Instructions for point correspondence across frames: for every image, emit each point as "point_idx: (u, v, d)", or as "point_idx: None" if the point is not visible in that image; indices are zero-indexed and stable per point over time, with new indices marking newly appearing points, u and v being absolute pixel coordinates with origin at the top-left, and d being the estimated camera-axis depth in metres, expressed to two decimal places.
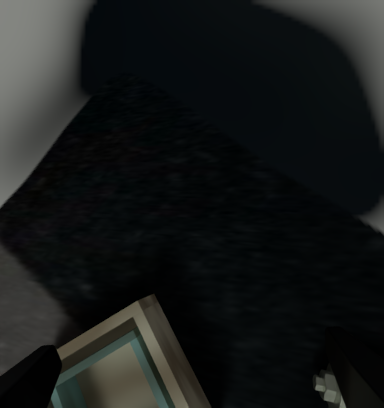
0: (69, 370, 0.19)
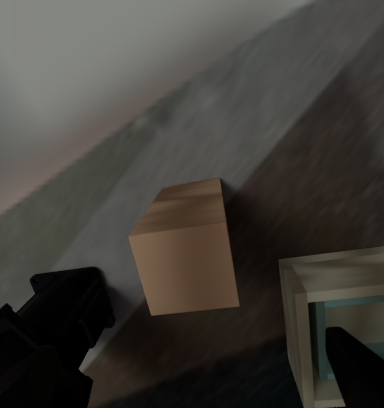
0: None
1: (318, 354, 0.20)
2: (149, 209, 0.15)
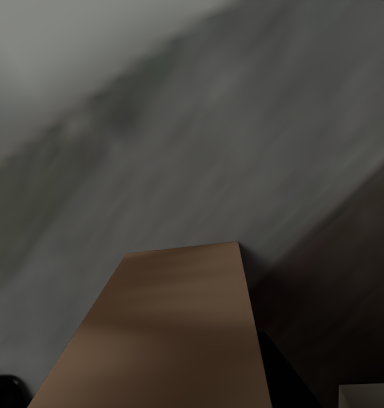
0: None
1: None
2: (49, 381, 0.05)
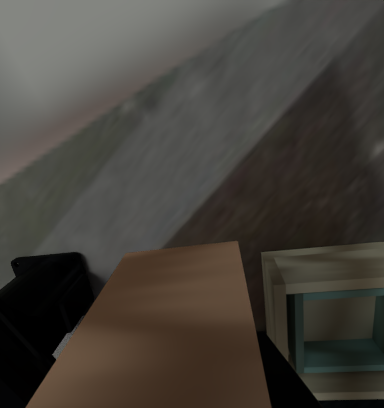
0: None
1: (295, 347, 0.20)
2: (48, 380, 0.05)
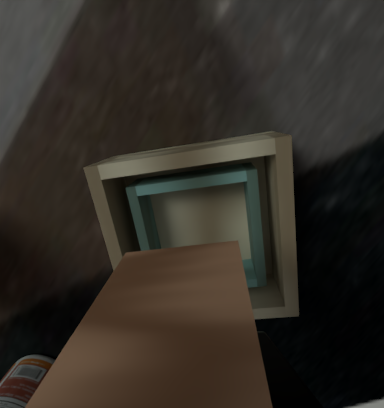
0: (257, 203, 0.15)
1: None
2: (48, 380, 0.05)
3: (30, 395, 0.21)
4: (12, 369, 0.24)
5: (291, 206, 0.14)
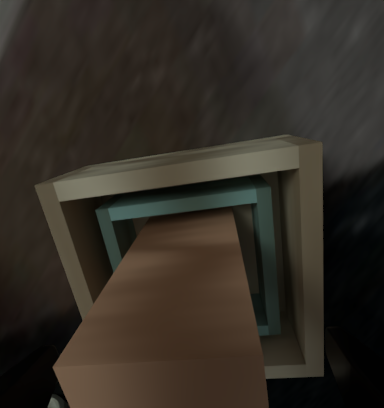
0: (271, 232, 0.11)
1: None
2: (118, 271, 0.09)
3: None
4: None
5: (319, 238, 0.10)
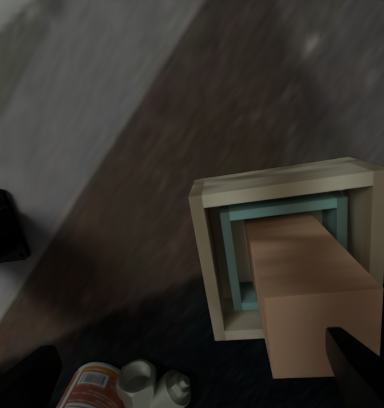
0: (345, 228, 0.16)
1: (229, 279, 0.18)
2: (255, 253, 0.14)
3: (99, 400, 0.23)
4: (77, 376, 0.25)
5: (383, 232, 0.15)
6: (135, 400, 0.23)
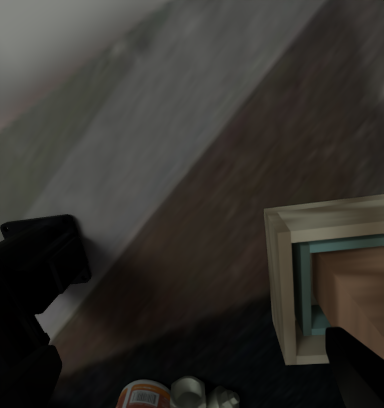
0: None
1: (302, 307, 0.19)
2: (348, 289, 0.15)
3: None
4: (127, 394, 0.26)
5: None
6: None
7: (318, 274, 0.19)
